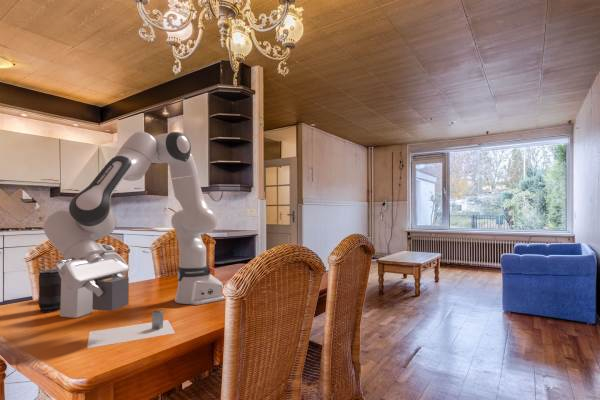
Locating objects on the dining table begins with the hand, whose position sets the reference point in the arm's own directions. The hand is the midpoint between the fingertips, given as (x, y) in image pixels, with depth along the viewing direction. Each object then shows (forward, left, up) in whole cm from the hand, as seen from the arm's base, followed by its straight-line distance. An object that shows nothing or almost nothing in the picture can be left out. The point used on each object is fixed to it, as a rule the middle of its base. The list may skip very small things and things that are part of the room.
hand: (112, 291), depth 96 cm
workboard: (-5, 0, -14) cm, 15 cm away
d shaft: (-12, 0, -13) cm, 18 cm away
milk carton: (+11, -35, -15) cm, 40 cm away
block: (0, 0, -5) cm, 5 cm away
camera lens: (+20, -47, -15) cm, 53 cm away
